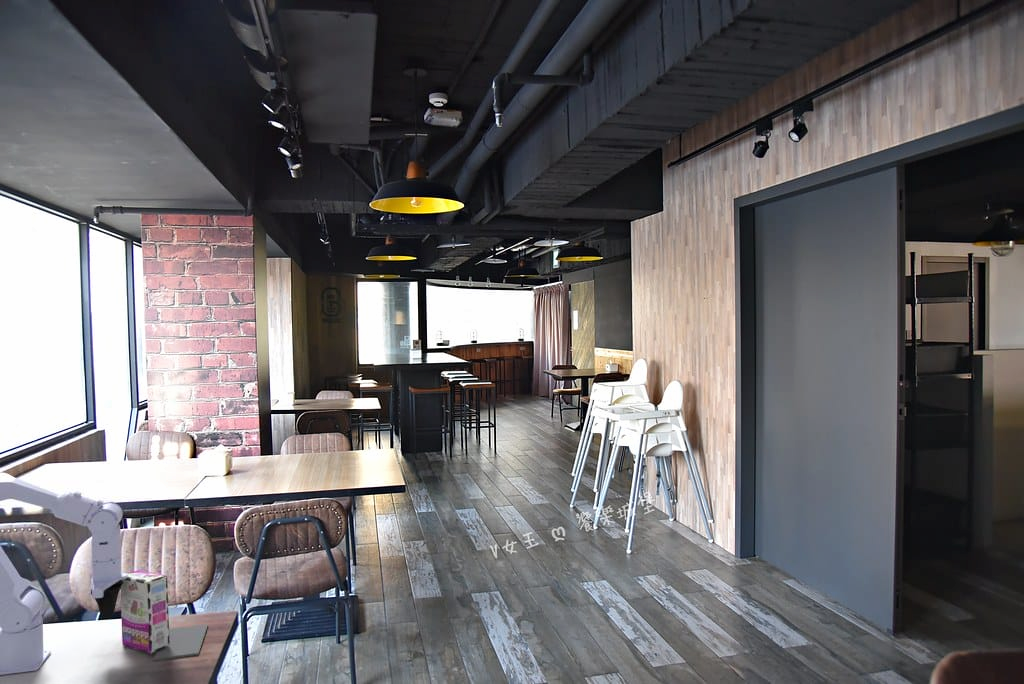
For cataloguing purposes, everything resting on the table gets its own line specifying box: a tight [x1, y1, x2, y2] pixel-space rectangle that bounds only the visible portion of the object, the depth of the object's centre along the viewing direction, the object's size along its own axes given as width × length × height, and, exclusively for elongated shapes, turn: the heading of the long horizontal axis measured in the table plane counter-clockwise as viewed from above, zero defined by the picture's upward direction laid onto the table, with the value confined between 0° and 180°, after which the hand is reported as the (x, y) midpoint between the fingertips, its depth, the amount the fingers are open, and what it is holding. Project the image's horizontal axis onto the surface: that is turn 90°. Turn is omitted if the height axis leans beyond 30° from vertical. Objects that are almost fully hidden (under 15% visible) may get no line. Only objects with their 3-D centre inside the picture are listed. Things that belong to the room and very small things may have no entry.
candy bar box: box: [120, 570, 170, 654], centre depth 152 cm, size 11×5×16 cm, turn 62°
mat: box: [153, 624, 209, 661], centre depth 154 cm, size 9×14×1 cm, turn 17°
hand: (107, 615), depth 149 cm, fingers closed
